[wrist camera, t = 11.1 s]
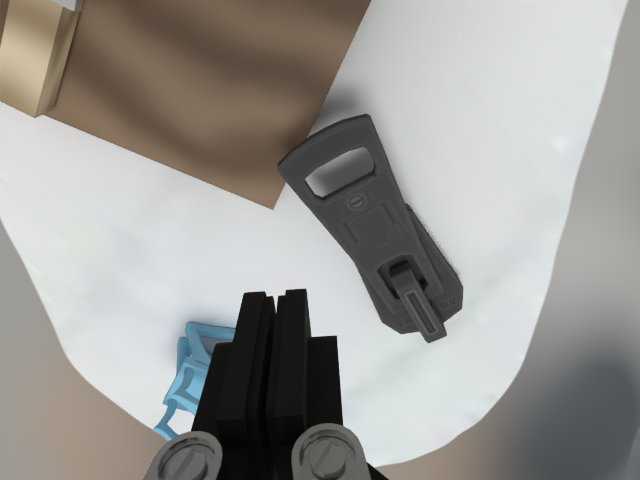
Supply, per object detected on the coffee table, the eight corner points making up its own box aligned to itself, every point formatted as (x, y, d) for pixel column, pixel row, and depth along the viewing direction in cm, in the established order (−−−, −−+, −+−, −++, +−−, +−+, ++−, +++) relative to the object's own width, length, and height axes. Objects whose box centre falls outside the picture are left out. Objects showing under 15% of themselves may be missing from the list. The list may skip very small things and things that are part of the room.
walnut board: (42, -272, 24) (27, -287, 23) (394, -56, 30) (398, -59, 28) (3, 89, 34) (-9, 93, 33) (274, 202, 39) (272, 209, 38)
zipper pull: (373, 103, 29) (490, 340, 40) (363, 85, 34) (468, 297, 45) (263, 165, 31) (403, 375, 42) (271, 139, 37) (392, 329, 48)
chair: (195, 306, 45) (159, 397, 35) (265, 334, 47) (251, 428, 37) (171, 353, 49) (132, 449, 38) (238, 377, 51) (218, 474, 40)
